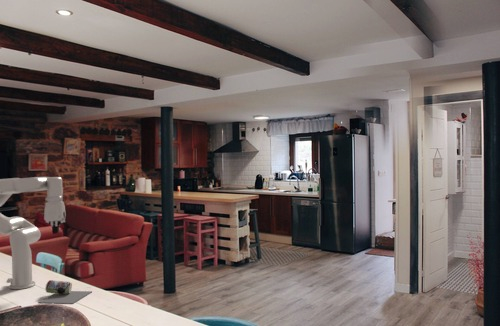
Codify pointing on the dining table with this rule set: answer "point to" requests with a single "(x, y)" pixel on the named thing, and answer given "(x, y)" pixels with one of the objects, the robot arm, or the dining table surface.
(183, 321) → the dining table surface
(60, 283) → the beverage can
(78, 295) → the rubber mat
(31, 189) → the robot arm
